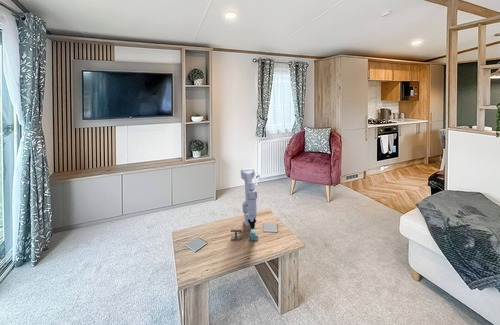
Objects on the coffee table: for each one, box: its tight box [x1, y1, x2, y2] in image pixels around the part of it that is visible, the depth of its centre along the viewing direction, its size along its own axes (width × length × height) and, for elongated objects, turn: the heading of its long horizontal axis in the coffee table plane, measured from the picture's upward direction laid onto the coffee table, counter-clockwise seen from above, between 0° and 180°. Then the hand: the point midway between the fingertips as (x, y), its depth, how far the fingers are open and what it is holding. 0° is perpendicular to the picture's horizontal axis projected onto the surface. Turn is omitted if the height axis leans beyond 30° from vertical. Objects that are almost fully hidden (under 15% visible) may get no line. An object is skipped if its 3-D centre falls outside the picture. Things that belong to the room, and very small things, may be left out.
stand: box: [230, 228, 242, 241], centre depth 182 cm, size 5×7×7 cm
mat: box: [248, 235, 259, 242], centre depth 182 cm, size 6×6×1 cm
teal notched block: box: [250, 228, 256, 240], centre depth 181 cm, size 5×3×5 cm, turn 177°
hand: (252, 226), depth 180 cm, fingers open, 7 cm apart
